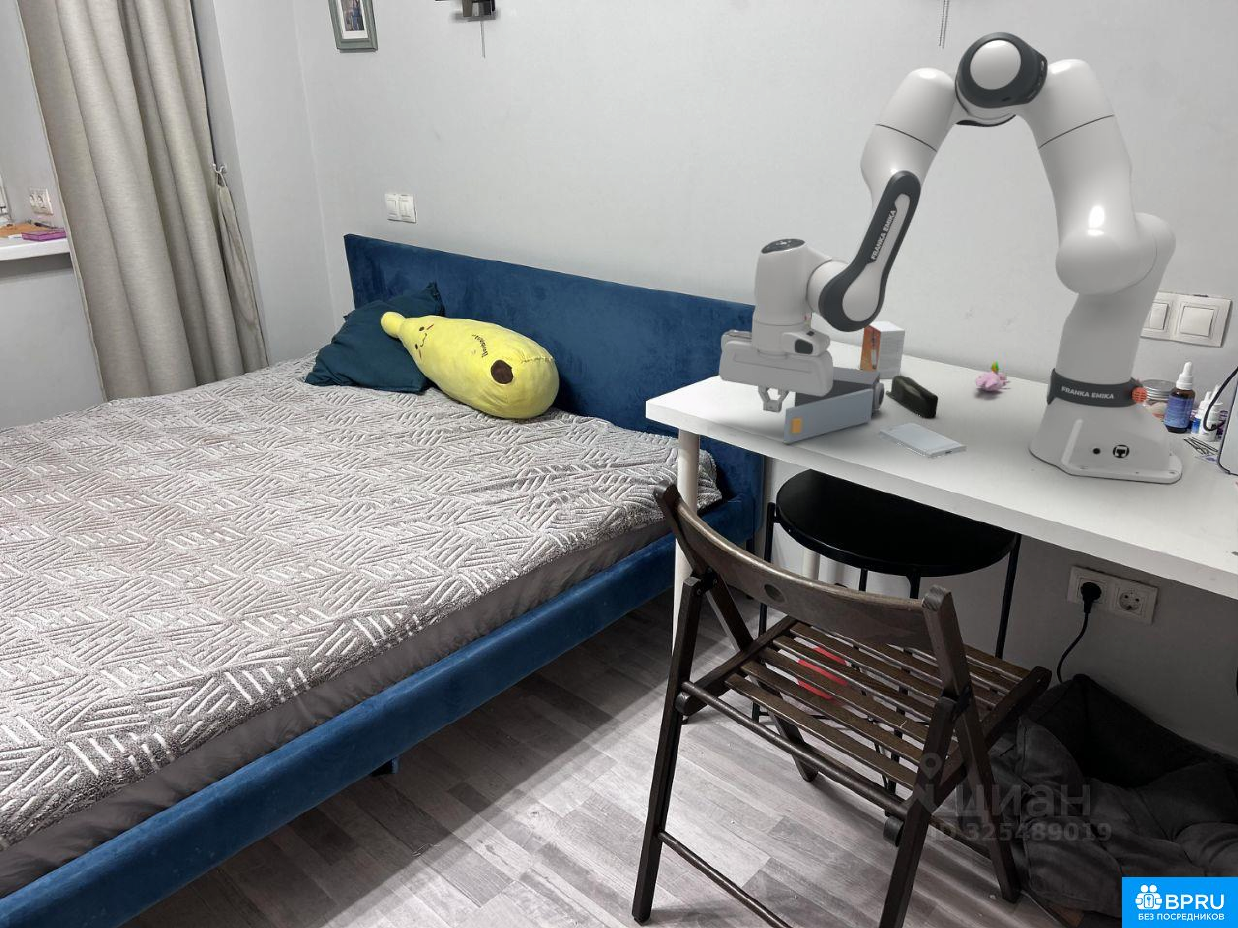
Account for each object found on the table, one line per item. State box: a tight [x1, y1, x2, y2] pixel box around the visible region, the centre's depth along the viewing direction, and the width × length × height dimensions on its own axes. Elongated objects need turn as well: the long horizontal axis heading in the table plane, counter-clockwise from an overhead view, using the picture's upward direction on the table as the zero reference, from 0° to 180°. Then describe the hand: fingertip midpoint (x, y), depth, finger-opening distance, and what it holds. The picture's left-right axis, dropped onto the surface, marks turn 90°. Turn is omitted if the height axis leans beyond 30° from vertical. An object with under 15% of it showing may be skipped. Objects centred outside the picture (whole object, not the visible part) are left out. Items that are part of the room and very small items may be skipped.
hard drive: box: [878, 422, 967, 459], centre depth 157 cm, size 2×8×12 cm
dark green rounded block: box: [885, 375, 939, 419], centre depth 174 cm, size 5×3×15 cm
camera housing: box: [793, 366, 885, 416], centre depth 172 cm, size 16×8×8 cm, turn 64°
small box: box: [859, 320, 906, 380], centre depth 192 cm, size 8×6×10 cm
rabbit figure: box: [974, 361, 1011, 392], centre depth 182 cm, size 6×6×15 cm
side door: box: [783, 389, 874, 444], centre depth 160 cm, size 20×2×6 cm, turn 122°
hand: (772, 410), depth 161 cm, fingers closed
